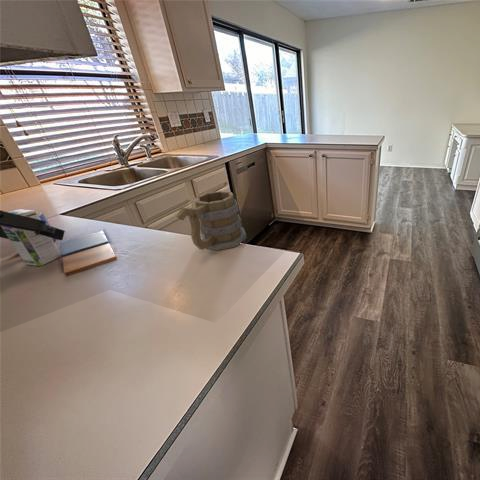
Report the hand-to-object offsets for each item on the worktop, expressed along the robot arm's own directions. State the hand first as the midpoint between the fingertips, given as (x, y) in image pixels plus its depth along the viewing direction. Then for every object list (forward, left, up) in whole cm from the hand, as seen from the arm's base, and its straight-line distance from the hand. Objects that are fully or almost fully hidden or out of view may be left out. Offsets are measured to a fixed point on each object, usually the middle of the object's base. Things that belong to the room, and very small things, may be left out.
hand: (40, 236), depth 74 cm
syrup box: (+2, -2, -7) cm, 7 cm away
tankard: (+31, +36, -7) cm, 48 cm away
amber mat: (+12, +8, -6) cm, 16 cm away
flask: (-12, -1, -7) cm, 14 cm away
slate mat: (-1, +8, -6) cm, 10 cm away
